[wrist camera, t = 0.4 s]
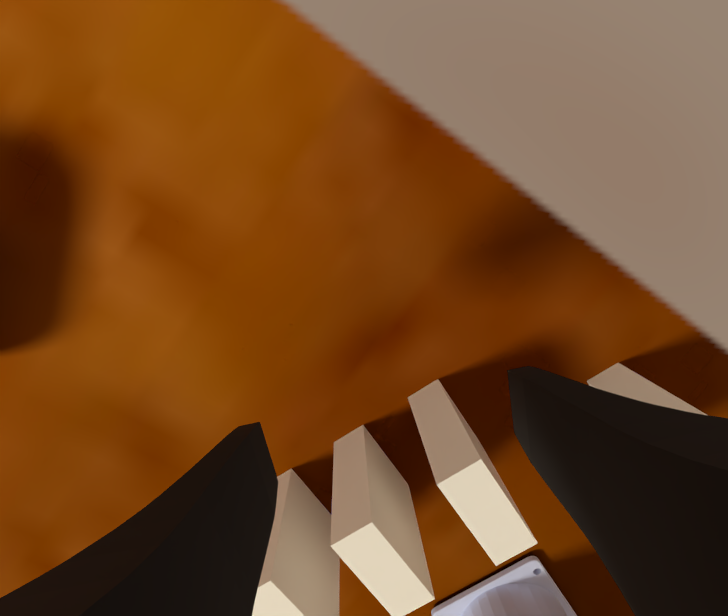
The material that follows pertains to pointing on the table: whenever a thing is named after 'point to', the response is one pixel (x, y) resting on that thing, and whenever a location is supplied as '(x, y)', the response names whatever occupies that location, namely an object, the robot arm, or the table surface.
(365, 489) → the tile
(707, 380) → the table surface
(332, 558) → the tile
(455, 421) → the tile
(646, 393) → the tile
